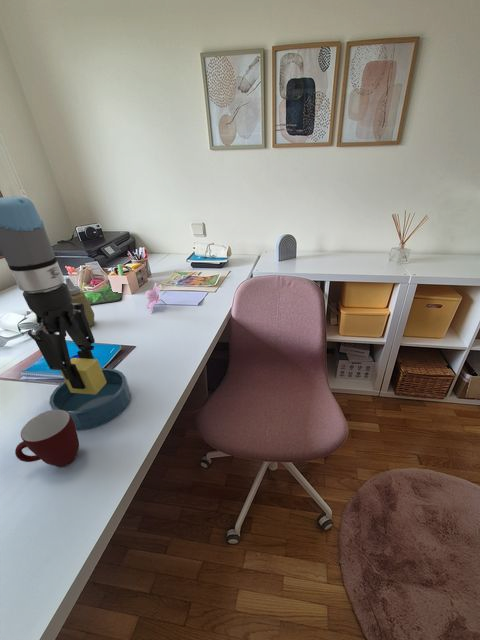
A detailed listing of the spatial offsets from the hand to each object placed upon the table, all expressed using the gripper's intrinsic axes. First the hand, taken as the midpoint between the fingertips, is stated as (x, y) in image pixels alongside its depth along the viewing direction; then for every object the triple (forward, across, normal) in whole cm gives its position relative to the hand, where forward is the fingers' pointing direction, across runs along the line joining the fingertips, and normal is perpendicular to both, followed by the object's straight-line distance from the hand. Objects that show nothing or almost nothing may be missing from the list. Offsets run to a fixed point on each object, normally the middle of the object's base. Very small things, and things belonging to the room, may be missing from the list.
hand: (85, 380), depth 71 cm
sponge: (+2, 0, 0) cm, 2 cm away
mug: (+8, -17, -2) cm, 19 cm away
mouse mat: (+7, +68, +43) cm, 80 cm away
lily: (+8, +56, +9) cm, 57 cm away
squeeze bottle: (+8, +38, +29) cm, 49 cm away
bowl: (+8, 0, 0) cm, 8 cm away
